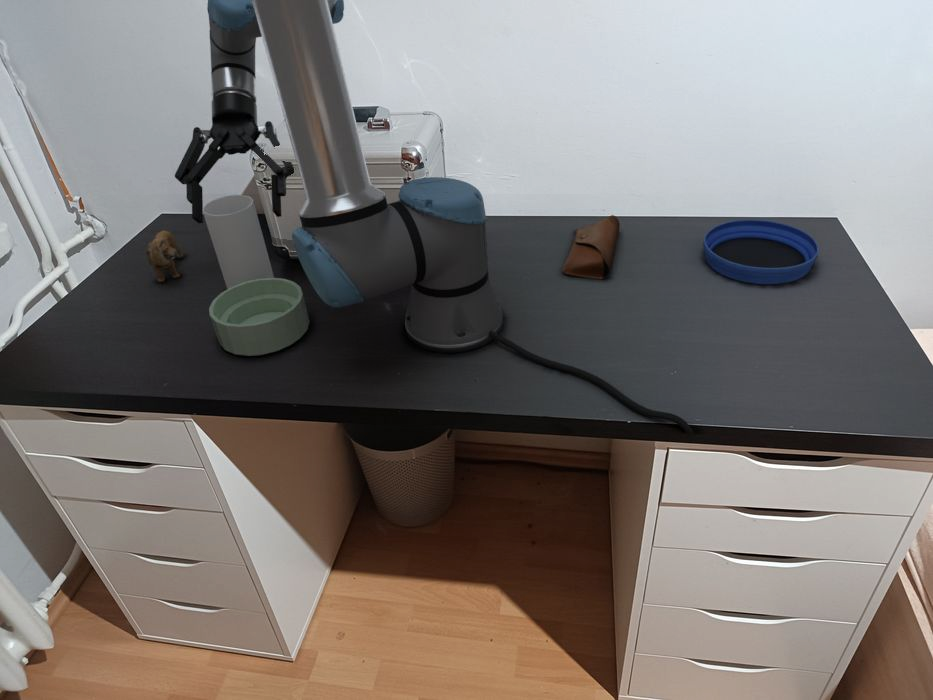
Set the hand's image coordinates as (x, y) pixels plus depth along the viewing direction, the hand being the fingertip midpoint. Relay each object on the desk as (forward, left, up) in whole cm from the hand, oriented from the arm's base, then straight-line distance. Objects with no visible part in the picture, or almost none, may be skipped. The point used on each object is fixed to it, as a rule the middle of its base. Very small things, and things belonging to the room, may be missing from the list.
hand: (237, 217), depth 116 cm
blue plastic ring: (-75, -46, -13) cm, 89 cm away
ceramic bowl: (-14, +11, -13) cm, 22 cm away
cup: (-1, +2, -13) cm, 13 cm away
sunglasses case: (-49, -36, -13) cm, 62 cm away
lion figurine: (+18, +5, -13) cm, 22 cm away
